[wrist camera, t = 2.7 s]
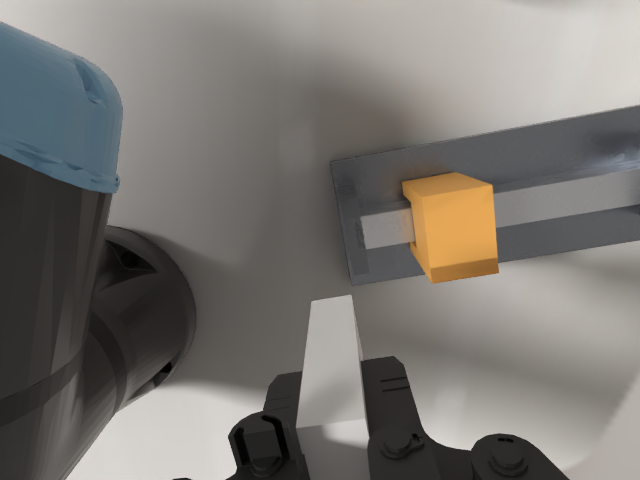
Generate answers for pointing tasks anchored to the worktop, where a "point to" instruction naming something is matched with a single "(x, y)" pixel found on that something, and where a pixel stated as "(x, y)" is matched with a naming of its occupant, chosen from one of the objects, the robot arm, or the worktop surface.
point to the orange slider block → (453, 226)
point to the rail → (502, 168)
